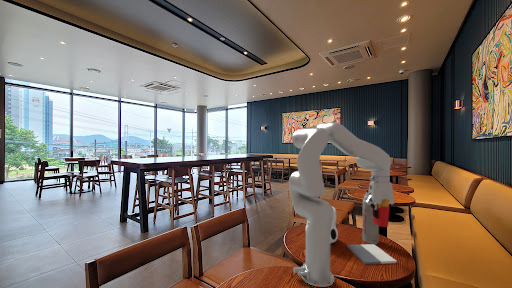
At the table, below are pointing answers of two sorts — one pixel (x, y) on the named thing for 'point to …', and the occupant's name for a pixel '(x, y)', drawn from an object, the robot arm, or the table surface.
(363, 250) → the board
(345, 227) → the table surface
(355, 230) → the table surface
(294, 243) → the table surface
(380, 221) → the french fries
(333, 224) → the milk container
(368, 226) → the thermos bottle
